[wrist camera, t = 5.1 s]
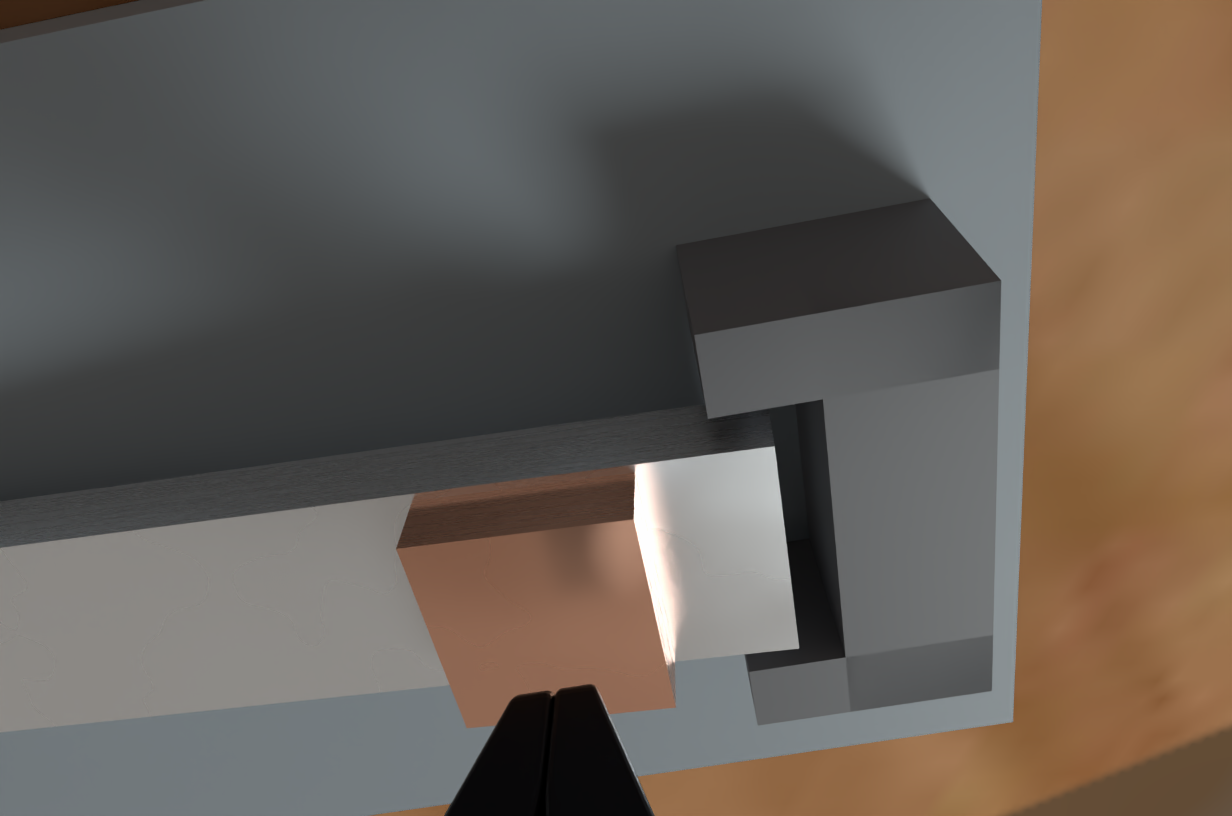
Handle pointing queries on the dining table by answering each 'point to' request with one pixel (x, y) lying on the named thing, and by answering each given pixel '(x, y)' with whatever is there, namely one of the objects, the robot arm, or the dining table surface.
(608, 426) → the light grey long bar
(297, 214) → the base plate
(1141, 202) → the dining table surface
